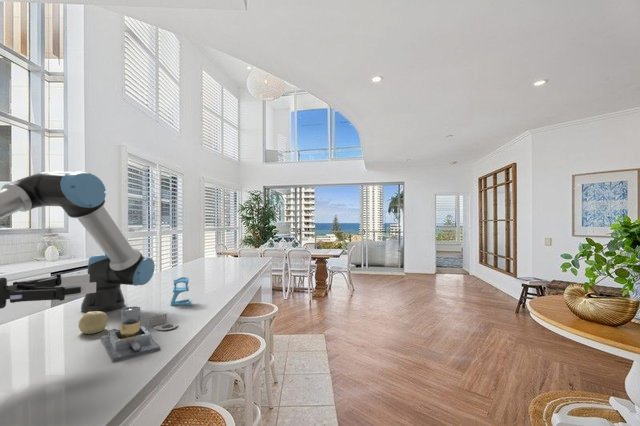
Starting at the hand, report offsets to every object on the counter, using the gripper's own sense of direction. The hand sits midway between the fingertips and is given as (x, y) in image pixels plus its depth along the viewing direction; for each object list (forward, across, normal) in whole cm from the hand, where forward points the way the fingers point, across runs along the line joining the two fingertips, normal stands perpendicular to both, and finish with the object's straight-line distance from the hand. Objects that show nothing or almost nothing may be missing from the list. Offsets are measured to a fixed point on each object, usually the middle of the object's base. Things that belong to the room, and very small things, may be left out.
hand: (92, 282), depth 87 cm
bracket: (+23, -10, -22) cm, 33 cm away
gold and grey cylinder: (+10, 0, -20) cm, 22 cm away
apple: (+3, -19, -21) cm, 29 cm away
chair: (+37, -35, -22) cm, 55 cm away
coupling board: (+10, 0, -21) cm, 23 cm away
